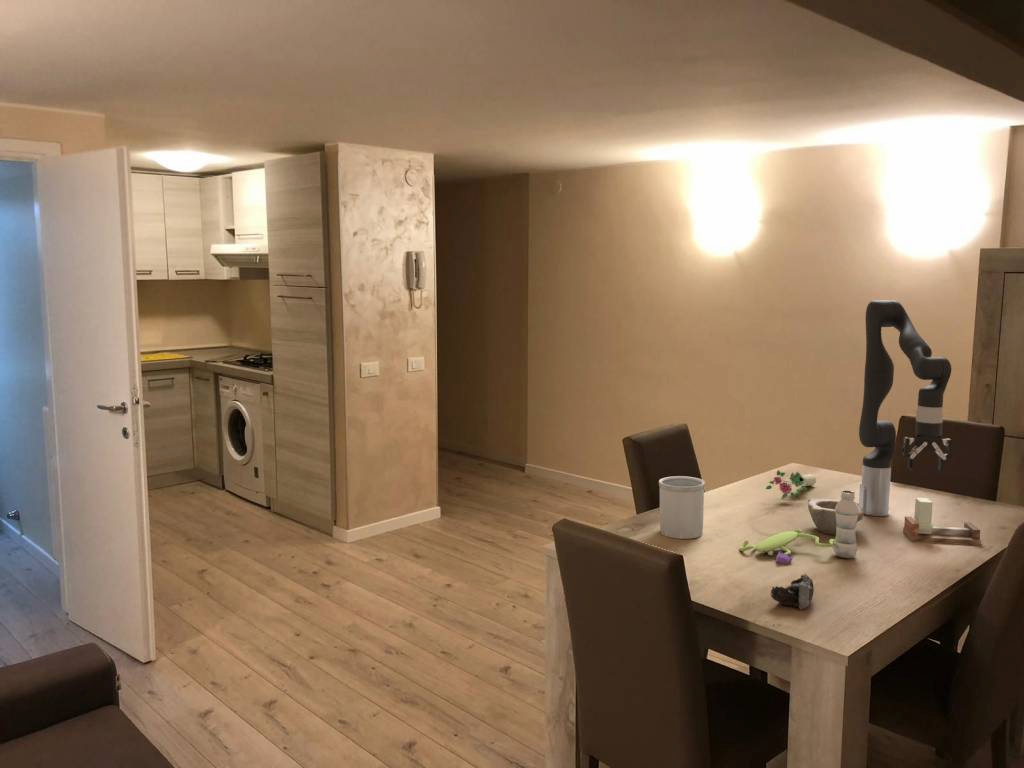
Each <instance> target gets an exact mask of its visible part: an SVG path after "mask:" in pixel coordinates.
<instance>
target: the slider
mask: <svg viewBox="0 0 1024 768" xmlns="http://www.w3.org/2000/svg"><path fill="white" fill-rule="evenodd" d="M932 515H933V501H931V500H930V498H927V497H915V503H914V517H912V518H913V519H914V520H915V521H916V522H917V523H918V524H919V529H918V533H922V534H931V530H932V529H933V526H934V524H933V523H932V518H933V516H932Z"/></svg>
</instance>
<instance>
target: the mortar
mask: <svg viewBox="0 0 1024 768" xmlns="http://www.w3.org/2000/svg"><path fill="white" fill-rule="evenodd" d="M840 500H841V499H832V498H829V499H828V498H827V499H826V498H814V497H813V498H809V499H808V500H807V508H808V512H809V514H810V517H811V519H812V522H813V524H814V525H815V527H816V529H817V530H818V531H820V532H821V533H824V534H827V535H833V536H836V526H837V525H836V513H835V512H836V511H835V507H836V505H837V504H838V502H839V501H840ZM854 502H855V503H856V505H857V507H858V510H859V512H858V518H857V523H858V522H861V520H863V518H864V517H865V514H864V513H863V508H862V507H861V506H860V505H859V502H856V501H854ZM857 523H856V525H857Z"/></svg>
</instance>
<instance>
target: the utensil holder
mask: <svg viewBox="0 0 1024 768" xmlns="http://www.w3.org/2000/svg"><path fill="white" fill-rule="evenodd" d="M705 485H706V481H705V480H704V479H701V478H698V477H693V476H684V475H682V476H681V475H677V476H676V475H675V476H667V477H663V478H659V480H658V486H659V528H660V529H659V530H660V534H661V535H663V536H664V537H668V538H670V539H679V540H691V539H697V538H700V537H701V536H702V535H703V529H704V509H705V508H704V507H705V505H704V501H705V487H706V486H705Z"/></svg>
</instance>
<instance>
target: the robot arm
mask: <svg viewBox="0 0 1024 768" xmlns="http://www.w3.org/2000/svg"><path fill="white" fill-rule="evenodd" d="M891 327H893V328H895V329H896V330H897V331H898V332H899V337H898V345H899V348H900V350H901V351H902V352H903V353H904V355H905V356H906V357H907V358H908V360H909V362H910V365H911V367H912V368H911V369H912V371H913V374H914V376H916V378H918V379H919V380H925V381H930V380H931V382H930V383H929V385H927V386H922V387H921V388H920V389H919V390H918V395H917V408H916V413H915V414H916V415H915V430H914V437H907V436H904V437H903V441H902V442H903V443H902V448H901V449H902V451H901V455H902V456H904V457H905V458H907V467H908V468H909V470H910V471H914V470H915V459H914V458H915V457H916V456H917V455H919V453H921V452H922V453H927V452H928V453H936V454H937V456H938V465H937V470H938V471H939V472H943V471H945V468H946V460H948V459H952V458H953V451H954V450H953V440H952V439H951V438H948V437H947V438H942V435H943V420H944V407H943V405H944V394H945V391H946V388H947V386H948V383H949V380H950V377H951V374H952V364H951V363H950V360H949V359H948V358H946V357H943V356H942V357H939V356H938V357H937V356H935V357H932V354H933V352H932V348H931V347H930V346H929V344H928V343H927V342H926V341H925V340H924V339H923V338H922V337H921V335H920V334H919V333H918V331H917V330H916V328H915V326H914V324H913V323H912V321H911V318H910V316H909V315H908V313H907V311H906V309H905V308H904V306H903V305H902V304H901V302H899V301H898V300H893V299H892V300H891V299H889V300H888V299H887V300H886V299H885V300H884V299H883V300H881V299H880V300H877V299H876V300H871V301H870V302H869V303H868V304H867V305H866V310H865V337H866V338H865V341H866V344H865V346H866V347H865V348H866V350H865V363H864V365H865V366H864V379H863V382H864V383H863V385H864V386H863V399H862V406H861V407H862V408H861V413H860V414H861V415H860V421H859V427H858V438H859V441H860V444H861V445H862V446H863V447H865V448H874V449H873V450H872V451H871V452H869V453H868V454H866V455H864V456H863V458H862V469H861V471H862V472H861V484H859V494H858V495H859V497H858V498H859V499H858V503H859V505H860V506H861V507H862V508H863V513H864V515H866V516H872V517H887V516H888V515H889V510H890V493H891V492H890V491H891V474H892V462H893V460H894V457H895V449H896V441H897V432H896V427H895V425H894V423H893V422H891V421H889V420H884V419H883V420H882V419H881V420H878V417H879V411H880V408H881V405H882V404H883V403H884V401H885V399H886V397H887V396H888V395H889V393H890V391H891V389H892V387H893V384H894V372H895V365H894V362H893V360H892V357H891V356H890V354H889V352H888V351H887V349H886V347H885V346H884V345H885V344H884V343H883V339H882V328H891ZM912 443H914V444H915V446H914V447H912V449H911V450H910V445H912ZM942 445H944V446H945V453H944V452H943V451H942V449H941V448H940V447H941V446H942ZM909 451H910V452H909Z"/></svg>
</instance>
